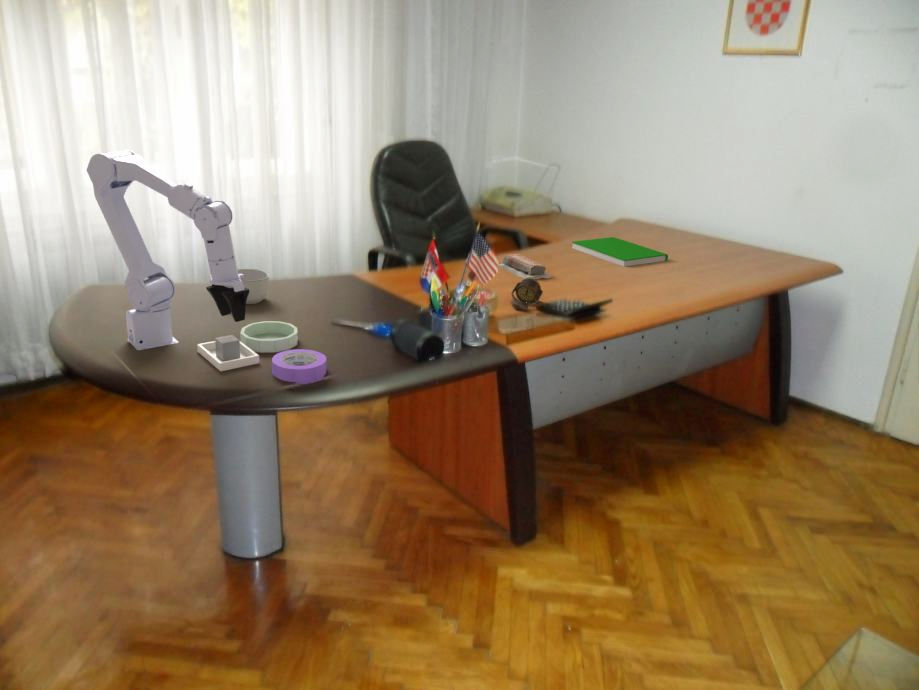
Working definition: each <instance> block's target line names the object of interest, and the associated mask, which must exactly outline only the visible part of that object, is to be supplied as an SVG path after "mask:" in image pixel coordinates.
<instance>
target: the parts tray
mask: <svg viewBox="0 0 919 690" xmlns="http://www.w3.org/2000/svg"><path fill="white" fill-rule="evenodd" d="M239 341H240V358H239V359H234V360H229V361H225V362H223V361H222V360H220V359H219V358H218V357H217V356H216V345H215V340H214V341H213V340H212V341H207V342H202V343H197V344H196V345H197V352H198V354H200V355H201V356H202V357H203V358H204V359H206V361H208V362H209V363H210V364H211V365H212V366H214V367H215V368H216V370H218V371H219V372H223V371H228V370H233V369H238V368H243V367H244V368H245V367H249V366H252V365H257V364H260V355H259V354H258V353H257V352H256V351H253V350H251V349H250V348H249V347H247V346H246V345H245V344H243V343H242V342H241V340H239Z"/></svg>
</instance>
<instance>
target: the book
mask: <svg viewBox="0 0 919 690" xmlns="http://www.w3.org/2000/svg"><path fill="white" fill-rule="evenodd" d="M571 243H572V246H571V247H572V249H573V250H577V251H579V252H581V253H585V254H587V255H590V256H593V257H596V258H599V259H602V260H604V261H607V262H609V263H611V264H612V263H613V264H616V265H618V266H621V267H623V268H624V267H631V266H637V265H639V266H640V265H644V264H651V263H658V262H660V263H661V262H667V261H668V260H669V255H668V254H667V253H665V252H661V251H659V250H655V249H652V248H650V247H645V246H642V245H639V244H636V243H634V242H630V241H627V240H624V239H621V238H618V237H614V236H612V237H604V238H603V237H601V238H593V239H584V240H577V241H576V240H574V241H571Z"/></svg>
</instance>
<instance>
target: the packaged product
mask: <svg viewBox="0 0 919 690" xmlns="http://www.w3.org/2000/svg"><path fill="white" fill-rule="evenodd" d="M498 267H499V268H501V269H503V270H505V271H507V272H509V273H510V274H512V275H514V276H516V277H519V278H520V277H521V279H522V280H524V279H525V278H532V279H537V280H542V279H541V278H545V279H549V278H548V277H551V278H552V276H553V275H552V274H549V273H547V272H546V269H547V267H546V266H545V265H543V264H541V263H539V262H537V261H536V260H535V261H534V260H532V259H530V258H528V257H527V256H524V255H523V254H520V253H510V254H504V255H503V261H502V263H501V262H499V263H498Z"/></svg>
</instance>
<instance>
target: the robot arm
mask: <svg viewBox="0 0 919 690" xmlns="http://www.w3.org/2000/svg"><path fill="white" fill-rule="evenodd" d="M86 173H87V174H88V177H89V178H90V181H91V183H92V186H93V194H94V197H95V200H96V202H97V204H98V207H99V209H100V211H101V213H102V215H103V218H104V219H105V222H106V223H107V226H108V228H109V230H110V232H111V235H112V236H113V239H114V241H115V243H116V246H117V247H118V250H119V252H120V254H121V256H122V258H123V261H124V263H125V265H126V267H127V270H128V272H127V275H126V277H125V280H124V285H125V287H126V291H127V299H128V302H129V303H130V305H132V307H133V309H129V310H126V312H125V320H126V323H125V324H126V332H127V343H130V344H131V345H132V347H134V349H136V350H137V351H140V350H147V349H152V348H158V347H162V346H163V347H164V346H169V345H173V344H174V345H175V344H178V343H180V342H179V341H178V340H177V339H176V338H175V337H174V336H173V327H172V325H173V324H172V319H171V318H172V316H171V315H172V314H171V304H172V298H174V297H175V294H176V285H175V283H174V280H173V279H172V278H171V277H170V276H169V275H168V274H167V273H166V270H165V268H164V267H163V266H161V265H160V264H157V263H155V262H154V261H153V259H152V257H151V255H150V252H149V250H148V248H147V246H146V244H145V241H144V239H143V237H142V235H141V232H140V230H139V227H138V226H137V224H136V222H135V219H134V217H133V215H132V213H131V211H130V208H129V206H128V204H127V201H126V199H125V195H126V192H127V190H128V188H129V187H130V186H131V185H132V184H133V182H139V183H141V184H142V185H144V186H146V187H147V188H150V189H151V190H152V191H154V192H156V193H158V194H160V195H162V196H164V197H166V198H167V201H168V204H169V206H171V207H172V208H173V209H175V210H176V211H178V212H180V213H181V214H183V215H184V216H186V217H188V218H190V219H191V220H193V223H194V226H195V227H196V228H197V229H198V230H199V232H200V235H201V238H202V239H203V242H204V247H205V251H206V257H207V262H208V267H209V272H210V274H208V278H209V283H210V284H211V285H207V286H206V287H205V289H206V290H207V292H208V293H209V294H210V296H211V298H213V301H214V302H215V304H216V307H217V309H218V311H219V314H220V315H221V317H225V316H229V315H232V318H233V320H234V322H236V323H238V322H241V321H245V320H246V306H247V304H246V301H247V297H248V294H249V289H248V288H244V284H243V281H241V279H240V278H244V275H243V274H238V271H237V269H238V265H237V261H236V255H235V251H234V250H235V249H234V245H233V239H232V235H231V230H230V225H231V223H232V221H233V211H232V209H231V207H230V206H229V205H228V204H227V203H226V202H225V201H224V200H218V199H217V200H213V199H212V198H211V197H210V196H208V195H206V196H205V195H204V194H203V193H201V192H200V191H197V190H196V189H195V188H194V185H193V184H191V183H185V182H180V183H175V182H174V181H173V180H171V179H170V178H168V177H166V176H165V175H164V174H163V173H161V172H160V171H158V170H157V169H155V168H154V167H152V165H149V164H148V163H147V162H146V161H145V159H144V157H143V156H141V155H139V154H137V153H135V152H134V151H133V150H130V149H128V148H127V149H122V150H118V151H117V150H116V151H113V152H112V151H111V152H107V153H106V152H104V153H99V152H98V153H95V154H93V155H92V156H91V157H90V160H89V162H88V164H87V167H86ZM146 278H147V279H146Z"/></svg>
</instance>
